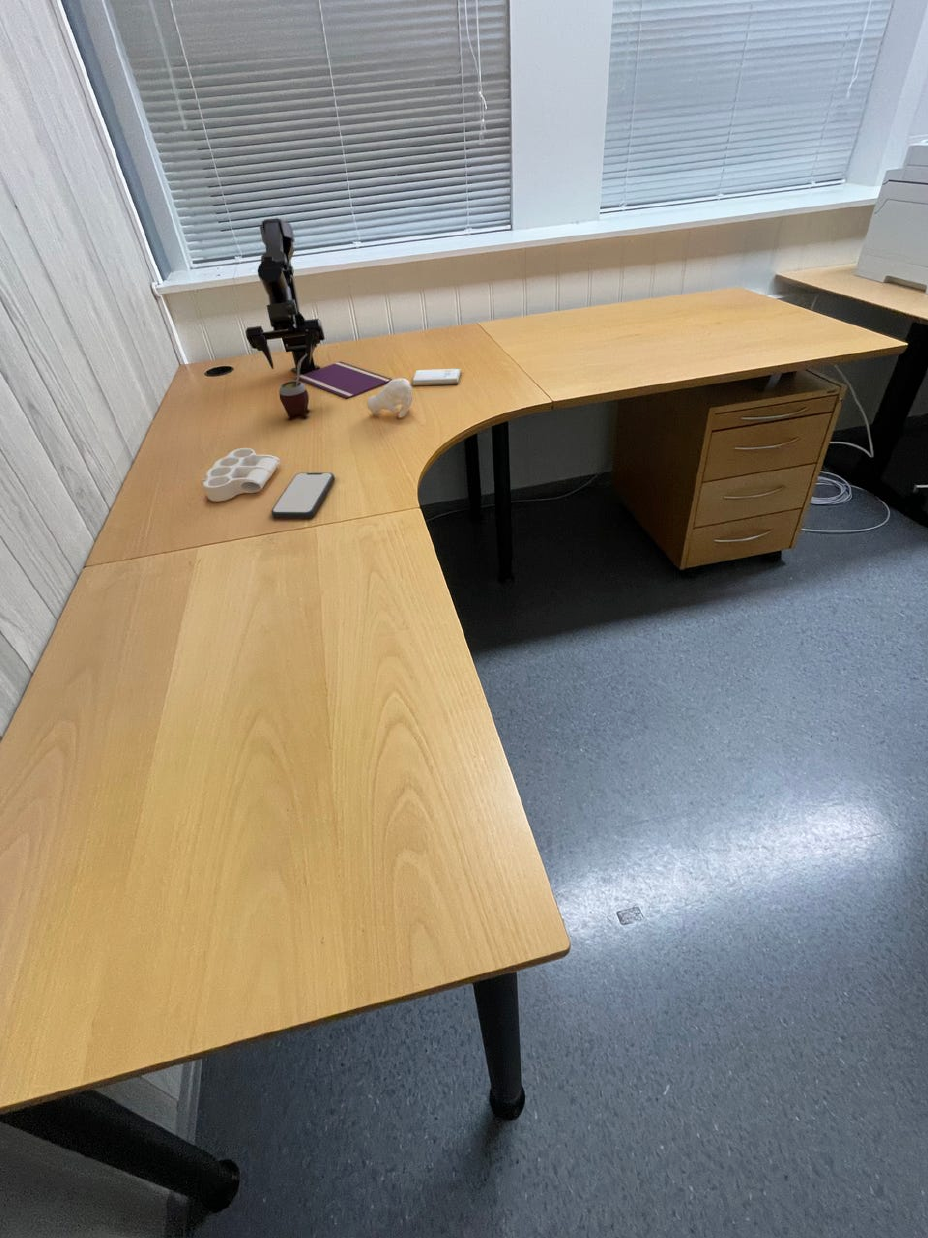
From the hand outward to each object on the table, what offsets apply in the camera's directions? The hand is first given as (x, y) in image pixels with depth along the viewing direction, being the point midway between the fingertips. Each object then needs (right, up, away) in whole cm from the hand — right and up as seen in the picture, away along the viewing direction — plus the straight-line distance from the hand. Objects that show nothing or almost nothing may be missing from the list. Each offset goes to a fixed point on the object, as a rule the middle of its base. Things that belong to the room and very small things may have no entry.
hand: (290, 365), depth 152 cm
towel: (+9, +5, +22) cm, 24 cm away
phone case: (+11, -39, -28) cm, 50 cm away
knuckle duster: (-5, -34, -21) cm, 40 cm away
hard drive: (+36, +3, +17) cm, 40 cm away
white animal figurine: (+25, -12, +1) cm, 28 cm away
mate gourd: (+1, -11, +5) cm, 12 cm away
